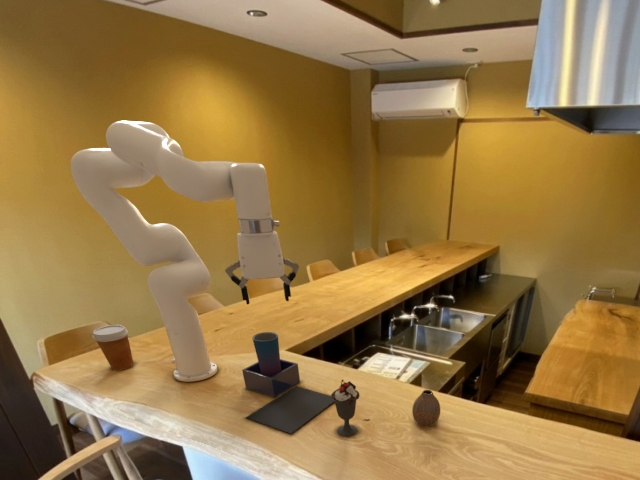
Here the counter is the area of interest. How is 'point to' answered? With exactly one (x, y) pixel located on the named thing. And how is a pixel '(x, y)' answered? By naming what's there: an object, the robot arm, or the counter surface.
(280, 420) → the mat
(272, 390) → the holder
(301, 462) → the counter surface
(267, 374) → the cup
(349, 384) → the sundae
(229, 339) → the counter surface
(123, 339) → the disposable coffee cup
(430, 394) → the vase
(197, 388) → the counter surface
